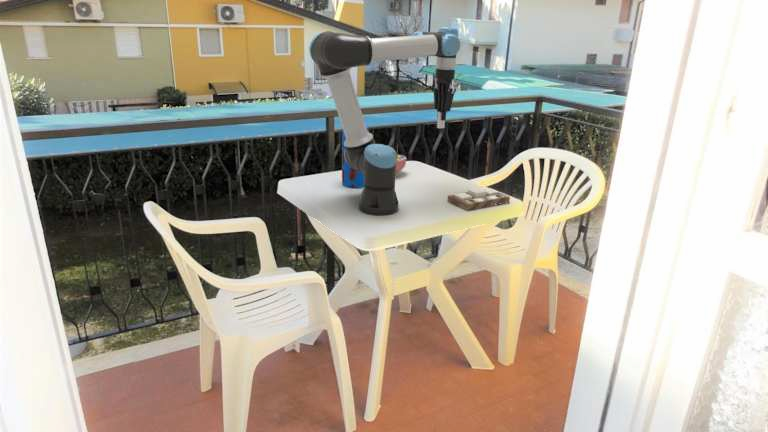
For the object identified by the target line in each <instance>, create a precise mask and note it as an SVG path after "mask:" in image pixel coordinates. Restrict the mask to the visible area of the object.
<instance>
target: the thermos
mask: <svg viewBox="0 0 768 432" xmlns="http://www.w3.org/2000/svg"><path fill="white" fill-rule="evenodd" d="M366 128H367V132H369V133H370V131H369V126H368V125H366ZM341 133H342V138H341V146H342V147H341V153H342V154H341V184H342V186H343V187H345V188H348V189H362V188H363V189H364V175H363V174H361V173H360V172H358V171H356V170H354V169H353V168H351V167H350V166H349V165H348V164H347V162H346V160H345V157H344V150H345V146H344V142H345V140H346V137H345V134H344V130H343V129H342V132H341Z"/></svg>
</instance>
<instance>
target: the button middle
mask: <svg viewBox="0 0 768 432" xmlns="http://www.w3.org/2000/svg"><path fill="white" fill-rule="evenodd" d="M467 192H468V195H470V196H472V197H474V198H480V197H485V196H486V191H484V190H483V189H482V188H478V187H476V188H475V187H474V188H470V189H469V188H468V189H467Z"/></svg>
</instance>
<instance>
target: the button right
mask: <svg viewBox="0 0 768 432" xmlns="http://www.w3.org/2000/svg"><path fill="white" fill-rule="evenodd" d="M482 190H484V191H486V195H488V196H491V195H497V194H499V193H500V191H498V190H495V189H493V188H491V187H489V188H484V189H482Z"/></svg>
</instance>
